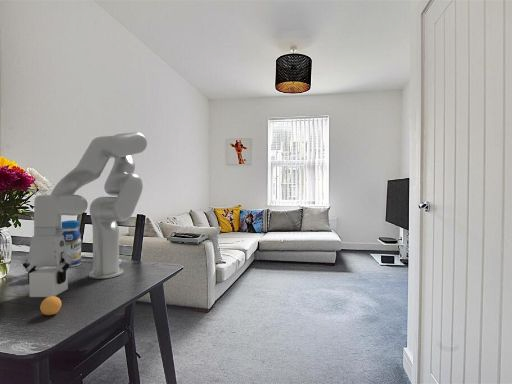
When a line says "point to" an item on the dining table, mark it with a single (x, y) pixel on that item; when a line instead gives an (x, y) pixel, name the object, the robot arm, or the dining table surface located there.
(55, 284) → the white cube
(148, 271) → the dining table surface
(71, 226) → the beverage bottle
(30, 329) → the dining table surface
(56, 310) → the ball
